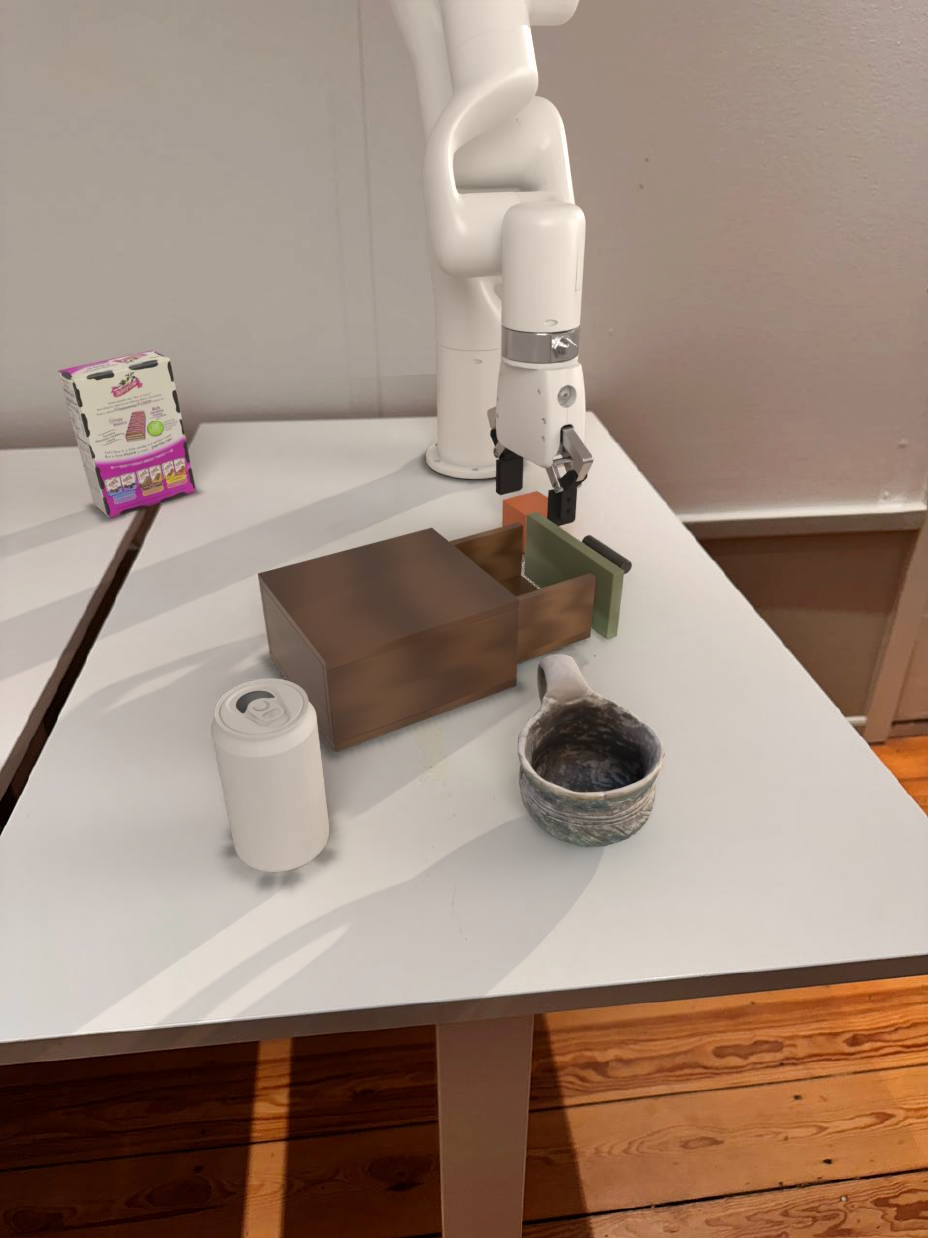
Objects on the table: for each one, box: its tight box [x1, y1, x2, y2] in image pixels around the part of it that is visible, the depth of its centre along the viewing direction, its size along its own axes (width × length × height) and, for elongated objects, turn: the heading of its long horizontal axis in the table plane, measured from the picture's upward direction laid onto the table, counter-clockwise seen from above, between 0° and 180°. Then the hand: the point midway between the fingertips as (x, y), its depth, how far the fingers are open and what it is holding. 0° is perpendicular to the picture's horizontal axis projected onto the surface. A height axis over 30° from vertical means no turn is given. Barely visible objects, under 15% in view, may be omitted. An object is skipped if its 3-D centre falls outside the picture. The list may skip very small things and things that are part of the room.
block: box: [501, 490, 561, 554], centre depth 95 cm, size 4×4×4 cm
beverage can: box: [210, 677, 330, 873], centre depth 57 cm, size 6×6×12 cm
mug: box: [517, 653, 666, 848], centre depth 60 cm, size 10×12×10 cm
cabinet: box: [257, 527, 520, 753], centre depth 74 cm, size 17×15×9 cm
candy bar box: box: [57, 349, 197, 519], centre depth 101 cm, size 11×5×16 cm, turn 131°
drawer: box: [448, 512, 633, 664], centre depth 80 cm, size 20×13×7 cm
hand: (534, 507), depth 94 cm, fingers open, 9 cm apart
